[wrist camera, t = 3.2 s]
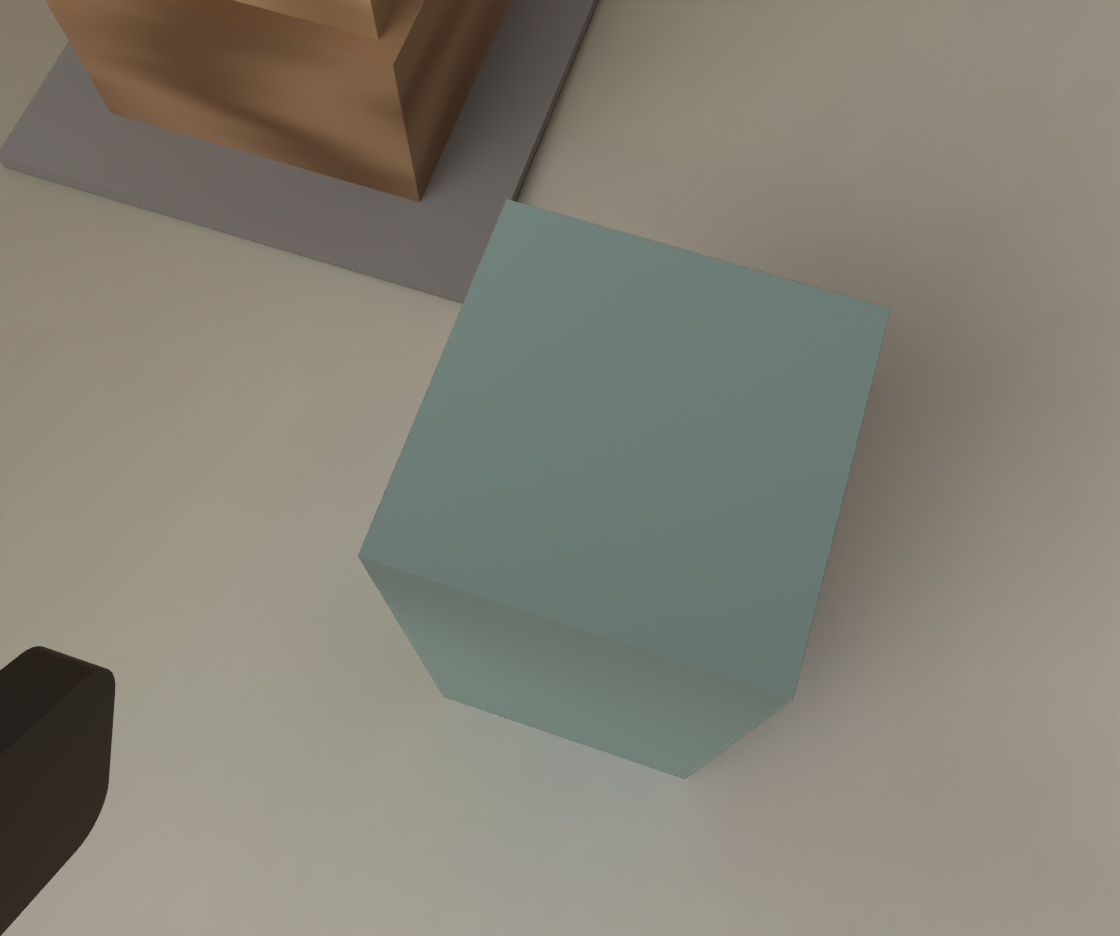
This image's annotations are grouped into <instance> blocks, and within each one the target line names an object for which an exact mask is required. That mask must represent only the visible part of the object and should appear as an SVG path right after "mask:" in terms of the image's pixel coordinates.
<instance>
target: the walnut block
mask: <svg viewBox="0 0 1120 936" xmlns="http://www.w3.org/2000/svg"><path fill="white" fill-rule="evenodd" d="M510 1H511V0H398V2H397V4H396V6H395V8H394V10H393V12H392V14H391V16H390V18H389V20H388V22H387V24H386V26H385V28H384V30H383V32H382V34H381V36H380V38H379V40H377V39H373V38H370V37H366V36H362V35H359V34H355V33H351V32H348V31H344V30H340V29H337V28H333V27H329V26H326V25H322V24H318V23H315V22H311V21H307V20H304V19H300V18H296V17H293V16H289V15H285V14H282V13H278V12H274V11H271V10H267V9H263V8H260V7H256V6H252V5H248V4H245V3H241V2H237V1H234V0H46V2H47V4H48V5H49V7H50V9H51V11H52V12H53V14H54V16H55V17H56V19H57V21H58V23H59V24H60V26H61V28H62V30H63V31H64V33H65V35H66V36H67V38H68V40H69V42H70V43H71V45H72V47H73V49H74V50H75V52H76V54H77V55H78V57H79V59H80V61H81V62H82V64H83V66H84V68H85V69H86V71H87V73H88V74H89V76H90V78H91V80H92V81H93V83H94V85H95V87H96V88H97V90H98V92H99V93H100V95H101V97H102V99H103V100H104V102H105V104H106V106H107V107H108V109H109V111H110V112H111V114H115V115H118V116H122V117H125V118H129V119H132V120H136V121H139V122H143V123H146V124H150V125H153V126H156V127H160V128H163V129H167V130H170V131H174V132H177V133H181V134H184V135H188V136H191V137H195V138H198V139H202V140H205V141H209V142H212V143H215V144H219V145H222V146H226V147H229V148H233V149H236V150H240V151H243V152H247V153H250V154H254V155H257V156H261V157H264V158H267V159H271V160H274V161H278V162H281V163H285V164H288V165H292V166H295V167H299V168H302V169H306V170H309V171H313V172H316V173H319V174H323V175H326V176H330V177H333V178H337V179H340V180H344V181H347V182H351V183H354V184H358V185H361V186H365V187H368V188H371V189H375V190H378V191H382V192H385V193H389V194H392V195H396V196H399V197H403V198H406V199H410V200H413V201H417V202H420V201H421V199H422V196H423V194H424V192H425V190H426V188H427V185H428V183H429V181H430V179H431V176H432V174H433V172H434V170H435V168H436V165H437V163H438V161H439V159H440V156H441V154H442V152H443V150H444V148H445V145H446V143H447V141H448V139H449V137H450V134H451V132H452V130H453V128H454V125H455V123H456V121H457V119H458V117H459V114H460V112H461V110H462V108H463V105H464V103H465V101H466V99H467V97H468V94H469V92H470V90H471V88H472V85H473V83H474V81H475V79H476V77H477V74H478V72H479V70H480V68H481V65H482V63H483V61H484V59H485V57H486V54H487V52H488V50H489V48H490V45H491V43H492V41H493V39H494V37H495V34H496V32H497V30H498V28H499V26H500V23H501V21H502V19H503V17H504V14H505V12H506V10H507V8H508V6H509V3H510Z"/></svg>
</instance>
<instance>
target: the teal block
mask: <svg viewBox="0 0 1120 936" xmlns="http://www.w3.org/2000/svg"><path fill="white" fill-rule="evenodd" d="M890 309H891V308H887V307H884V306H880V305H877V304H873V303H870V302H866V301H863V300H859V299H856V298H852V297H849V296H845V295H842V294H838V293H835V292H831V291H828V290H824V289H821V288H817V287H813V286H810V285H806V284H803V283H799V282H796V281H792V280H789V279H785V278H782V277H778V276H775V275H771V274H768V273H764V272H761V271H757V270H754V269H750V268H747V267H743V266H740V265H736V264H733V263H729V262H726V261H722V260H719V259H715V258H712V257H708V256H705V255H701V254H698V253H694V252H691V251H687V250H684V249H680V248H677V247H673V246H670V245H666V244H663V243H659V242H656V241H652V240H649V239H645V238H642V237H638V236H635V235H631V234H628V233H624V232H621V231H617V230H614V229H610V228H607V227H603V226H600V225H596V224H593V223H589V222H586V221H582V220H579V219H575V218H572V217H568V216H565V215H561V214H558V213H554V212H551V211H547V210H544V209H540V208H537V207H533V206H530V205H526V204H523V203H519V202H515V201H512V200H508V199H506V201H505V204H504V206H503V209H502V211H501V214H500V216H499V218H498V221H497V223H496V226H495V228H494V230H493V233H492V235H491V238H490V240H489V242H488V245H487V247H486V250H485V252H484V254H483V257H482V259H481V262H480V264H479V266H478V269H477V271H476V274H475V276H474V278H473V281H472V283H471V286H470V288H469V290H468V293H467V295H466V298H465V300H464V302H463V305H462V307H461V310H460V312H459V314H458V317H457V319H456V322H455V324H454V326H453V329H452V331H451V334H450V336H449V338H448V341H447V343H446V346H445V348H444V350H443V353H442V355H441V358H440V360H439V362H438V365H437V367H436V370H435V372H434V375H433V377H432V379H431V382H430V384H429V387H428V389H427V391H426V394H425V396H424V399H423V401H422V403H421V406H420V408H419V411H418V413H417V415H416V418H415V420H414V423H413V425H412V427H411V430H410V432H409V435H408V437H407V439H406V442H405V444H404V447H403V449H402V451H401V454H400V456H399V459H398V461H397V463H396V466H395V468H394V471H393V473H392V475H391V478H390V480H389V483H388V485H387V487H386V490H385V492H384V495H383V497H382V499H381V502H380V504H379V507H378V509H377V511H376V514H375V516H374V519H373V521H372V523H371V526H370V528H369V531H368V533H367V536H366V538H365V540H364V543H363V545H362V548H361V550H360V552H359V555H358V557H359V559H360V560H361V562H362V564H363V565H364V567H365V568H366V570H367V572H368V573H369V575H370V577H371V578H372V580H373V582H374V583H375V585H376V587H377V588H378V590H379V591H380V593H381V595H382V596H383V598H384V600H385V601H386V603H387V605H388V606H389V608H390V610H391V611H392V613H393V614H394V616H395V618H396V619H397V621H398V623H399V624H400V626H401V628H402V629H403V631H404V632H405V634H406V636H407V637H408V639H409V641H410V642H411V644H412V646H413V647H414V649H415V651H416V652H417V654H418V655H419V657H420V659H421V660H422V662H423V664H424V665H425V667H426V669H427V670H428V672H429V674H430V675H431V677H432V678H433V680H434V682H435V683H436V685H437V687H438V688H439V690H440V692H441V693H442V695H443V697H446V698H449V699H452V700H454V701H457V702H460V703H463V704H466V705H469V706H472V707H475V708H478V709H481V710H484V711H487V712H490V713H493V714H496V715H498V716H501V717H504V718H507V719H510V720H513V721H516V722H519V723H522V724H525V725H528V726H531V727H534V728H537V729H540V730H542V731H545V732H548V733H551V734H554V735H557V736H560V737H563V738H566V739H569V740H572V741H575V742H578V743H581V744H584V745H587V746H589V747H592V748H595V749H598V750H601V751H604V752H607V753H610V754H613V755H616V756H619V757H622V758H625V759H628V760H631V761H633V762H636V763H639V764H642V765H645V766H648V767H651V768H654V769H657V770H660V771H663V772H666V773H669V774H672V775H675V776H677V777H680V778H683V779H685V778H686V777H688V776H689V775H690V774H692V773H693V772H694V771H696V770H697V769H698V768H700V767H701V766H703V765H704V764H705V763H707V762H708V761H709V760H711V759H712V758H713V757H715V756H716V755H717V754H719V753H720V752H722V751H723V750H724V749H726V748H727V747H728V746H730V745H731V744H732V743H734V742H735V741H737V740H738V739H739V738H741V737H742V736H743V735H745V734H746V733H747V732H749V731H750V730H751V729H753V728H754V727H756V726H757V725H758V724H760V723H761V722H762V721H764V720H765V719H766V718H768V717H769V716H770V715H772V714H773V713H775V712H776V711H777V710H779V709H780V708H781V707H783V706H784V705H785V704H787V703H788V702H789V701H791V700H792V699H793V696H794V692H795V688H796V684H797V680H798V677H799V673H800V669H801V665H802V661H803V657H804V653H805V649H806V645H807V641H808V637H809V633H810V629H811V625H812V621H813V617H814V613H815V609H816V605H817V601H818V597H819V593H820V589H821V585H822V581H823V577H824V573H825V569H826V565H827V561H828V557H829V553H830V549H831V545H832V541H833V537H834V533H835V529H836V525H837V521H838V517H839V513H840V509H841V505H842V501H843V497H844V493H845V489H846V485H847V481H848V477H849V473H850V469H851V465H852V461H853V457H854V453H855V449H856V445H857V441H858V437H859V433H860V429H861V425H862V421H863V417H864V413H865V409H866V405H867V401H868V397H869V393H870V389H871V385H872V381H873V377H874V373H875V369H876V365H877V361H878V357H879V353H880V349H881V345H882V341H883V337H884V333H885V329H886V325H887V321H888V317H889V313H890Z"/></svg>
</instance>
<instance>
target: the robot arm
mask: <svg viewBox="0 0 1120 936" xmlns="http://www.w3.org/2000/svg"><path fill="white" fill-rule="evenodd" d="M114 700H115V679H114V676H113V673H112V672H111V671H110V670H108V669H106V668H103V667H100V666H97V665H94V664H92V663H89V662H86V661H83V660H80V659H77V658H74V657H71V656H68V655H66V654H63V653H60V652H57V651H54V650H51V649H48V648H45V647H43V646H37V647H32V648H30V649H28V650H26V651H25V652H23V653H22V654H20V655H19V656H18V657H17V658H15V659H14V660H13V661H12V662H10V663H9V664H8V665H7V666H5V667H4V668H3V669H2V670H0V936H1V935H2V934H3V933H4V932H5V930H6V929H7V928H8V927H9V926H10V925H11V924H12V923H13V921H14V920H15V919H16V918H17V917H18V916H19V915H20V914H21V912H22V911H23V910H24V909H25V908H26V907H27V906H28V905H29V903H30V902H31V901H32V900H33V899H34V898H35V897H36V896H37V894H38V893H39V892H40V891H41V890H42V889H43V888H44V887H45V885H46V884H47V883H48V882H49V881H50V880H51V879H52V878H53V876H54V875H55V874H56V873H57V872H58V871H59V870H60V869H61V867H62V866H63V865H64V864H65V863H66V862H67V861H68V860H69V858H70V857H71V856H72V855H73V854H74V853H75V852H76V851H77V849H78V848H79V847H80V846H81V845H82V843H83V842H84V840H85V839H86V838H87V836H88V834H89V833H90V831H91V830H92V828H93V826H94V824H95V822H96V820H97V818H98V816H99V814H100V812H101V809H102V807H103V804H104V801H105V798H106V794H107V790H108V783H109V770H110V756H111V742H112V728H113V714H114Z"/></svg>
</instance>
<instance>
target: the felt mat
mask: <svg viewBox="0 0 1120 936" xmlns="http://www.w3.org/2000/svg"><path fill="white" fill-rule="evenodd" d="M597 2H598V0H511V1H510V3H509V6H508V8H507V10H506V12H505V14H504V17H503V19H502V21H501V23H500V26H499V28H498V30H497V32H496V34H495V37H494V39H493V41H492V43H491V45H490V48H489V50H488V52H487V54H486V57H485V59H484V61H483V63H482V65H481V68H480V70H479V72H478V74H477V77H476V79H475V81H474V83H473V85H472V88H471V90H470V92H469V94H468V97H467V99H466V101H465V103H464V105H463V108H462V110H461V112H460V114H459V117H458V119H457V121H456V123H455V125H454V128H453V130H452V132H451V134H450V137H449V139H448V141H447V143H446V145H445V148H444V150H443V152H442V154H441V156H440V159H439V161H438V163H437V165H436V168H435V170H434V172H433V174H432V176H431V179H430V181H429V183H428V185H427V188H426V190H425V192H424V194H423V196H422V199H421V201H420V202H417V201H413V200H410V199H406V198H403V197H399V196H396V195H392V194H389V193H385V192H382V191H378V190H375V189H371V188H368V187H365V186H361V185H358V184H354V183H351V182H347V181H344V180H340V179H337V178H333V177H330V176H326V175H323V174H319V173H316V172H313V171H309V170H306V169H302V168H299V167H295V166H292V165H288V164H285V163H281V162H278V161H274V160H271V159H267V158H264V157H261V156H257V155H254V154H250V153H247V152H243V151H240V150H236V149H233V148H229V147H226V146H222V145H219V144H215V143H212V142H209V141H205V140H202V139H198V138H195V137H191V136H188V135H184V134H181V133H177V132H174V131H170V130H167V129H163V128H160V127H156V126H153V125H150V124H146V123H143V122H139V121H136V120H132V119H129V118H125V117H122V116H118V115H115V114H111V112H110V111H109V109H108V107H107V106H106V104H105V102H104V100H103V99H102V97H101V95H100V93H99V92H98V90H97V88H96V87H95V85H94V83H93V81H92V80H91V78H90V76H89V74H88V73H87V71H86V69H85V68H84V66H83V64H82V62H81V61H80V59H79V57H78V55H77V54H76V52H75V50H74V49H73V47H72V45H71V43H70V42H68V44H67V45H66V47H65V49H64V50H63V52H62V53H61V55H60V57H59V58H58V60H57V61H56V63H55V64H54V66H53V68H52V69H51V71H50V72H49V74H48V76H47V77H46V79H45V80H44V82H43V83H42V85H41V87H40V88H39V90H38V91H37V93H36V94H35V96H34V98H33V99H32V101H31V102H30V104H29V106H28V107H27V109H26V110H25V112H24V113H23V115H22V117H21V118H20V120H19V121H18V123H17V125H16V126H15V128H14V129H13V131H12V132H11V134H10V136H9V137H8V139H7V140H6V142H5V143H4V145H3V147H2V148H1V150H0V162H1V163H2V164H3V166H4V167H7V168H10V169H14V170H17V171H20V172H24V173H27V174H30V175H34V176H37V177H40V178H44V179H47V180H50V181H54V182H57V183H61V184H64V185H67V186H71V187H74V188H77V189H81V190H84V191H87V192H91V193H94V194H97V195H101V196H104V197H108V198H111V199H114V200H118V201H121V202H124V203H128V204H131V205H134V206H138V207H141V208H144V209H148V210H151V211H155V212H158V213H161V214H165V215H168V216H171V217H175V218H178V219H181V220H185V221H188V222H191V223H195V224H198V225H202V226H205V227H208V228H212V229H215V230H218V231H222V232H225V233H228V234H232V235H235V236H238V237H242V238H245V239H249V240H252V241H255V242H259V243H262V244H265V245H269V246H272V247H275V248H279V249H282V250H285V251H289V252H292V253H296V254H299V255H302V256H306V257H309V258H312V259H316V260H319V261H322V262H326V263H329V264H332V265H336V266H339V267H343V268H346V269H349V270H353V271H356V272H359V273H363V274H366V275H369V276H373V277H376V278H379V279H383V280H386V281H390V282H393V283H396V284H400V285H403V286H406V287H410V288H413V289H416V290H420V291H423V292H426V293H430V294H433V295H437V296H440V297H443V298H447V299H450V300H453V301H457V302H460V303H463V302H464V300H465V298H466V295H467V293H468V290H469V288H470V286H471V283H472V281H473V278H474V276H475V274H476V271H477V269H478V266H479V264H480V262H481V259H482V257H483V254H484V252H485V250H486V247H487V245H488V242H489V240H490V238H491V235H492V233H493V230H494V228H495V226H496V223H497V221H498V218H499V216H500V214H501V211H502V209H503V206H504V204H505V201H506V199H508V200H512V201H515V200H516V198H517V196H518V193H519V191H520V188H521V186H522V184H523V181H524V179H525V176H526V174H527V171H528V169H529V167H530V164H531V162H532V159H533V157H534V154H535V152H536V150H537V147H538V145H539V142H540V140H541V137H542V135H543V133H544V130H545V128H546V125H547V123H548V120H549V118H550V116H551V113H552V111H553V108H554V106H555V103H556V101H557V99H558V96H559V94H560V91H561V89H562V86H563V84H564V82H565V79H566V77H567V74H568V72H569V69H570V67H571V65H572V62H573V60H574V57H575V55H576V53H577V50H578V48H579V45H580V43H581V40H582V38H583V36H584V33H585V31H586V28H587V26H588V23H589V21H590V19H591V16H592V14H593V11H594V9H595V6H596V4H597Z"/></svg>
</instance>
